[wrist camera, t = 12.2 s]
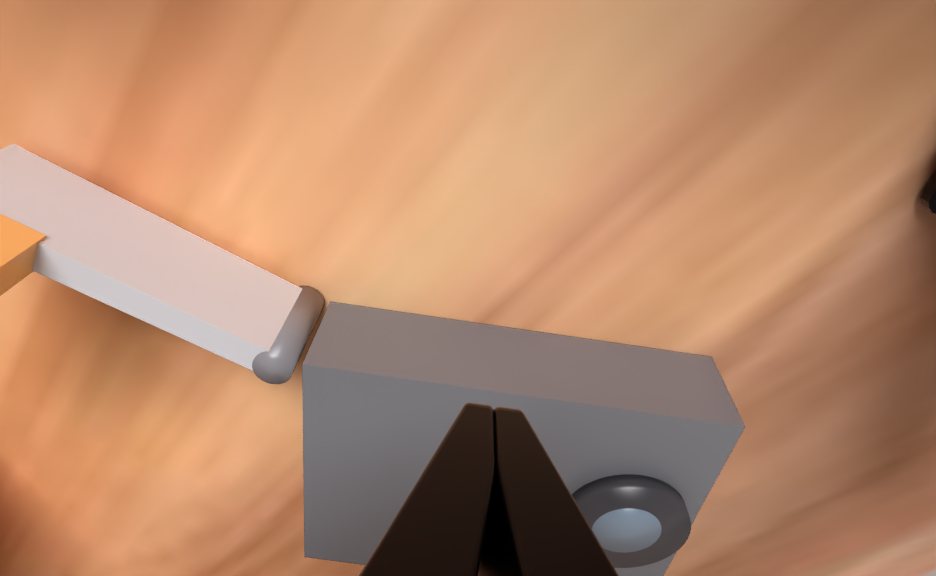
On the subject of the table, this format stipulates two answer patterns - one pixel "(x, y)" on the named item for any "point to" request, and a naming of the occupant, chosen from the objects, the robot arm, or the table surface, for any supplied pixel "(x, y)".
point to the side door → (148, 267)
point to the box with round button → (513, 386)
